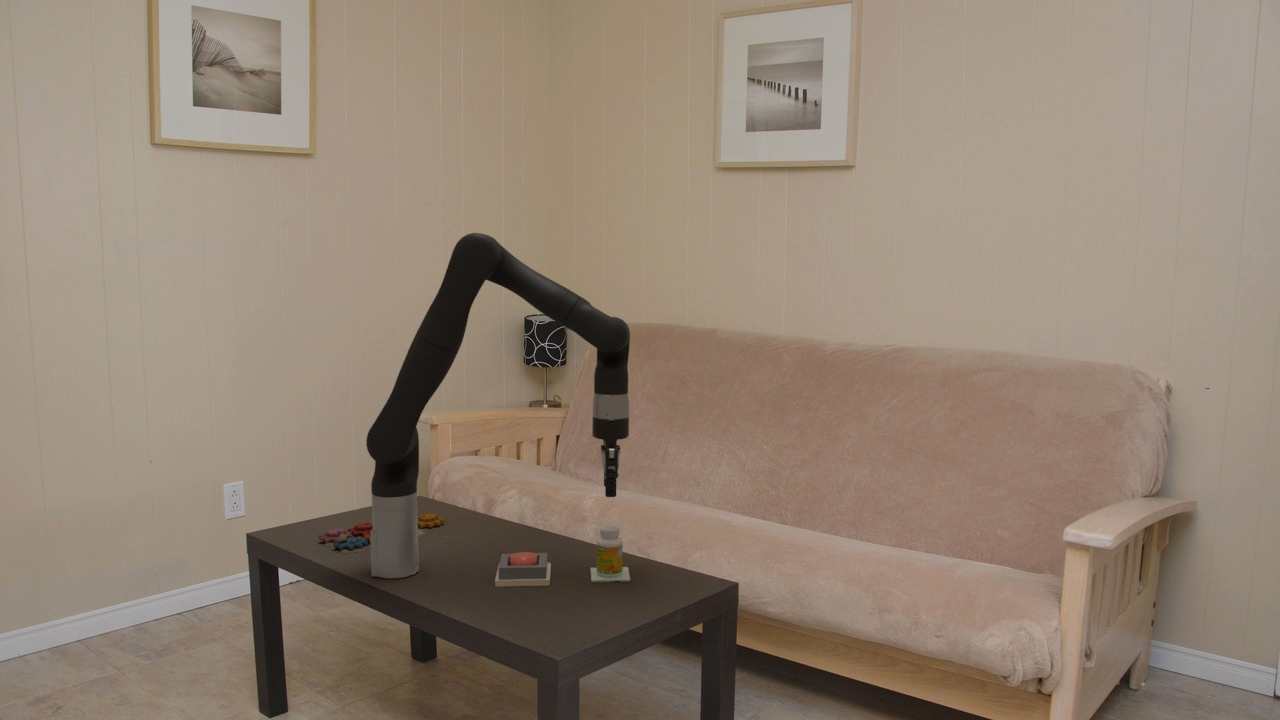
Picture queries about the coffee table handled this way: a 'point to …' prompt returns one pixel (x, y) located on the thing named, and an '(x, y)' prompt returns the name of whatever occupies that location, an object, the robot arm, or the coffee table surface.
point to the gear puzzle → (368, 534)
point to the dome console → (523, 572)
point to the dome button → (523, 558)
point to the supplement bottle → (609, 552)
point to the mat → (622, 577)
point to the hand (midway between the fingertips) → (609, 491)
